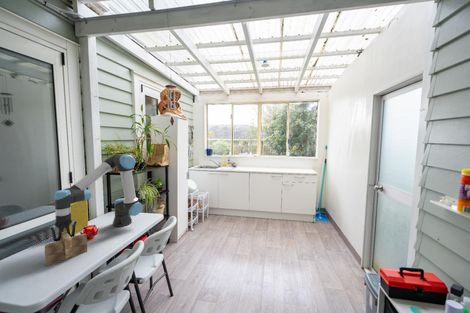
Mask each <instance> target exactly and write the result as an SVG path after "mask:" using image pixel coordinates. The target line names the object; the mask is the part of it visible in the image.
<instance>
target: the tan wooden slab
mask: <svg viewBox="0 0 470 313" xmlns="http://www.w3.org/2000/svg"><path fill="white" fill-rule="evenodd" d="M61 240H62V241H63V249H65V257H66V258H68V257H70V258H72V257H71V256H72V237H71V236H70V235H69V234H68V233H67V232H63V231H62V233H61ZM68 259H69V258H68Z"/></svg>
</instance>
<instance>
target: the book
mask: <svg viewBox="0 0 470 313" xmlns="http://www.w3.org/2000/svg"><path fill="white" fill-rule="evenodd" d="M88 209H89V208H88V200H85V201H81V202H76V203H71V220H72V221H76V222H77V223H76V225H75V235H76V234H78V233H80V231H81V232H83V231H84V230H83V227H85V226H88V227H89V215H88V214H89V211H88ZM69 230H70V233H71V234H72V223H71V224H70V225H69ZM82 230H83V231H82ZM62 232H67V230H66V228H64V229H62Z"/></svg>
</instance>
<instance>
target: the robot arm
mask: <svg viewBox="0 0 470 313" xmlns="http://www.w3.org/2000/svg"><path fill="white" fill-rule="evenodd" d="M135 165H136V159H135V158H134V157H133V155H131V154H124V153H122V154H121V153H115V154H113V155H111V156H109V157H107V158H106V159H105V160H103V161H102V162H101V164H100V165H98V166H97V167H96V168H95V169H93V170H92V171H90V172H89V173H88V174H86V175H85V176H84V177H83V178H81V179H80V180H78V181H77V182H75V183H74V184H73V185H71V186H70V187H65V188H64V189H62V190H56V191H55V193H54V197H53V199H54V210H55V223H54V224H53V225H52V226H50V227H49V229H50V230H51V234H52V236H51V237H52V240H53V242H56V241H60V240H61V233H62V232H63V230H64V228H66V230H67V233H68V234H69V235H70V236H71V237H73V236H76V234H75V225H76V223H77V222H76V221H72V220H71V203H76V202H81V201H85V200H87V201H89V200H90V199H91V198H92V191H91V190H90V189H87V188H88V187H90V186H91V185H93V184H94V183H95V182H96V181H98V180H100V178H102V177H103V176H104V175H105V174H107V173H108V172H109V171H110V172H111V171H113V170H114V169H117V172H118V173H120V178H121V185H122V189H123V191H122V192H123V196H124V197H122V198H118V199H115V200H114V204H113V206H114V218H113V221H112V226H113V227H114V228H121V227H126V226H128V225H131V224H132V223H133V220H132V217H133V216H134V217H135V216H137V215H139V214H140V213H141V211H142V210H143V205H142V203H141V202H139V198H138V197H137V195H136V189H135V183H134V177H133V170H134V168H135ZM131 216H132V217H131ZM71 223H72V234H71V233H70V230H69V225H70V224H71ZM56 227H57V228H58V230H57V231H58V232H57V235H56Z"/></svg>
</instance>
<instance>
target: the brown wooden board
mask: <svg viewBox="0 0 470 313" xmlns="http://www.w3.org/2000/svg"><path fill="white" fill-rule="evenodd" d="M87 236H88V235H87V234H86V232H84V233H80V234H77V235H75V236H73V237H72V256H71V257H68V258H66V257H65V249H63V241H62V240H60V241H56V242H54V241H53V242H49V243H45V244H44V256H45V257H44V258H45V259H44V260H45V266H51V265H53V263H54V264H56V263H59V262H61V261H64V260H67V259H70V258H73V257H75V256H76V257H77V256H79V255H81V254H84V253H87V252H88V243H87V242H88V237H87ZM50 264H51V265H50Z"/></svg>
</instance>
